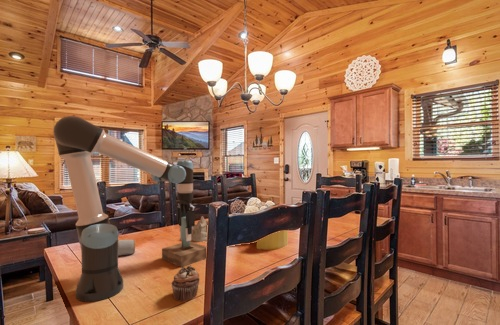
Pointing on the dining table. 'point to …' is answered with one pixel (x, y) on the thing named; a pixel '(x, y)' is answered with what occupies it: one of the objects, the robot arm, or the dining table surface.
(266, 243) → the cheese
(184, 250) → the socket block
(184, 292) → the cupcake
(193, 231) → the sand castle
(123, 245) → the ceramic mug
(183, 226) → the peg
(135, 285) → the dining table surface
